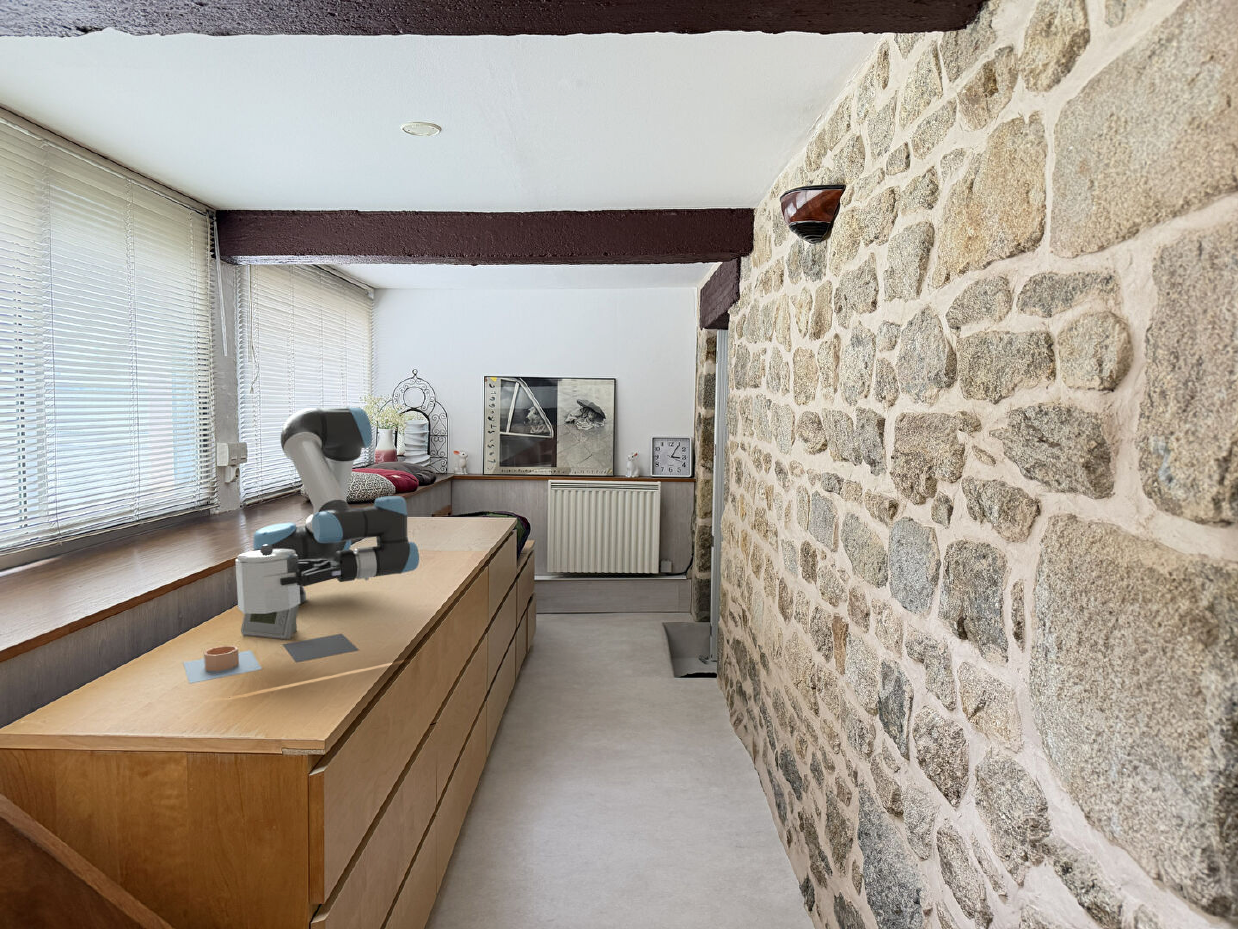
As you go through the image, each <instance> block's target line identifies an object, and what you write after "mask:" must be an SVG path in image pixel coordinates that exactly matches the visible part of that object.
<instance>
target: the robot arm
mask: <svg viewBox="0 0 1238 929" xmlns="http://www.w3.org/2000/svg"><path fill="white" fill-rule="evenodd" d="M372 442H373V430H372V425H371V421H370V418H369V415H368V414H367V412H366V411H365V410H364V409H363V408H360V407H350V406H347V407H316V408H315V407H308V408H303V409H301V410H298V411H297V412H294V414H292V415H291V416H290V417H289V418H288V419H287V420H286V422H285V423H284V425H283V427H282V429H281V433H280V445H281V450H282V451H283V453H284V456H285V457H286V458H287V460H290V461H292V463H293V466H294V468H295V469H296V471H297V474H298V476H299V478H300V480H301V482H302V485H303V488H304V489H305V492H306V494H307V496H308V497H309V500H310V503H311V505H312V508H313V510H312V514H310V515H309V516H308V517H307V519H306V521H305V525H304V526H302V525H301V526H297V525H296V523H294V522H284V523H276V524H271V525H268V526H264V527H262V528H260V529H258V530H256V531H255V532H254V534H253V542H252V543H253V545H252V548H253V549H252V550H253V551H257V550H260V549H261V547H262V546H263V545H265V544H268V545H271V546H272V548H273V549H292V550H295V553H296V555H298V567H299V571H296V576H295V573H288V574H281V575H274V576H267V577H263V586H264V590H266V589H273V588H279V587H286V586H293V585H296V583H297V585H300V604H299V605H301V604H304V603H305V602H306V601H307V593H306V590H305V588H304V587H307V586H311V585H315V584H319V583H323V582H326V581H330V580H337V581H338V582H339V583H343V582H344V583H345V582H352V581H355V579H357V580H362V579H363V580H365V581H369V579H370V578H375V577H382V576H383V577H384V576H391V575H399V574H400V575H401V574H403V573H404V574H405V573H409V572H413V571H415V570H416V569H417V568H418V566H419V564H420V553H419V548H418V546H417V544H416V543H415V542H413V541H409V538H408V509H407V503H406V499H405V498H404V497H402V496H398V495H393V496H392V495H389V496H381V497H377V498H375V500H374V504H373V505H371V506H364V507H358V508H357V507H356V508H351V507H350V505H349V504H348V501H347V499H348V493H349V488H350V481H351V478H352V473H353V472H352V471H353V467H354V462H355V461H357V460H358V459H359V458H360V457H361V455H362V450H363V449H364V450H365V449H367V448H370V447H371V445H372ZM369 538H375V539H376V540H375V541H376V546H375V545H374V546H366V547H358V548H354V549H353V550H352V549H351V546H352V541H354V540H360V539H369Z"/></svg>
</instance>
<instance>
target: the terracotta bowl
mask: <svg viewBox="0 0 1238 929" xmlns="http://www.w3.org/2000/svg"><path fill="white" fill-rule="evenodd" d="M238 652H239V648H238V647H237V646H236V645H222V646H221V645H220V646H217V647H211V648H209V649H207V650H205V651H203V659H204V665H205V669H206V671H220V670H225V669H231V668H233V667H235V666H237V665H239V656H238Z"/></svg>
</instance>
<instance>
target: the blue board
mask: <svg viewBox="0 0 1238 929" xmlns="http://www.w3.org/2000/svg"><path fill="white" fill-rule="evenodd" d="M238 656H239V665H237V666H235V667H233V668H231V669H225V670H220V671H206V669H205V665H204V658H200V659H196V660H195V659H194V660H189V661H183V663H182V664H183V667H184V670H185V674H186V677H187V680H188V683H189V684H195V683H199V682H204V681H211V680H214V679H219V678H226V677H230V676H231V677H232V676H236V675H240V674H244V673H250V672H255V671H260V669H261V670H263V668H262V666H261V665H260V663H259V661H258V659H256V658H257V657H256V656H255V654H254V653H253V651H252V650H251V649H250V650H245V651H240V652H239V651H238Z"/></svg>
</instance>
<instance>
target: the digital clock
mask: <svg viewBox="0 0 1238 929" xmlns="http://www.w3.org/2000/svg"><path fill="white" fill-rule="evenodd" d="M299 607H300V604H298V605H296V606H294V607H293V608H291V609H288V610H283V611H277V612H272V613H267V614H245V613H243V619H242V624H241V627H240V633H241V635H242V636H246V637H250V636H251V637H260V638H261V637H262V638H268V639H269V638H271V639H277V640H278V639H279V640H291V639H293V636H294V633H295V632H297V630H298V628H297V627H298V626H297V618H298V617H297V616H298V612H299Z"/></svg>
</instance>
